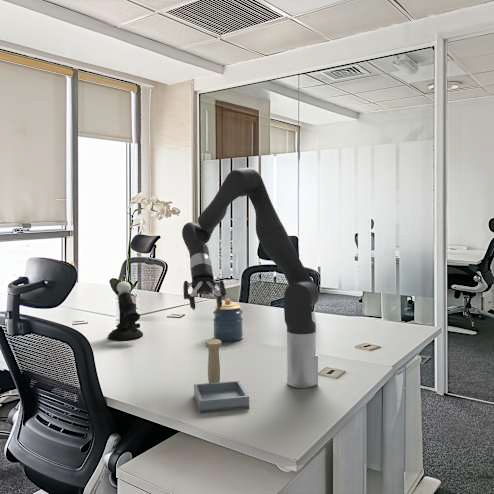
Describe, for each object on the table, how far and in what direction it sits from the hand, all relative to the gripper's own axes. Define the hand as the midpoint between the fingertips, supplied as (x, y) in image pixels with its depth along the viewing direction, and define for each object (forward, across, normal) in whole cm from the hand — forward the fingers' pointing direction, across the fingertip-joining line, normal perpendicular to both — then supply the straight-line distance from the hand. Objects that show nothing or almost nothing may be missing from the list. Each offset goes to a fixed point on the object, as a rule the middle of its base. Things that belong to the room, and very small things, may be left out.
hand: (206, 308), depth 170 cm
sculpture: (-24, -23, +63) cm, 71 cm away
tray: (+33, 0, 0) cm, 33 cm away
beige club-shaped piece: (+25, +1, +8) cm, 26 cm away
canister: (-16, +20, +52) cm, 58 cm away
